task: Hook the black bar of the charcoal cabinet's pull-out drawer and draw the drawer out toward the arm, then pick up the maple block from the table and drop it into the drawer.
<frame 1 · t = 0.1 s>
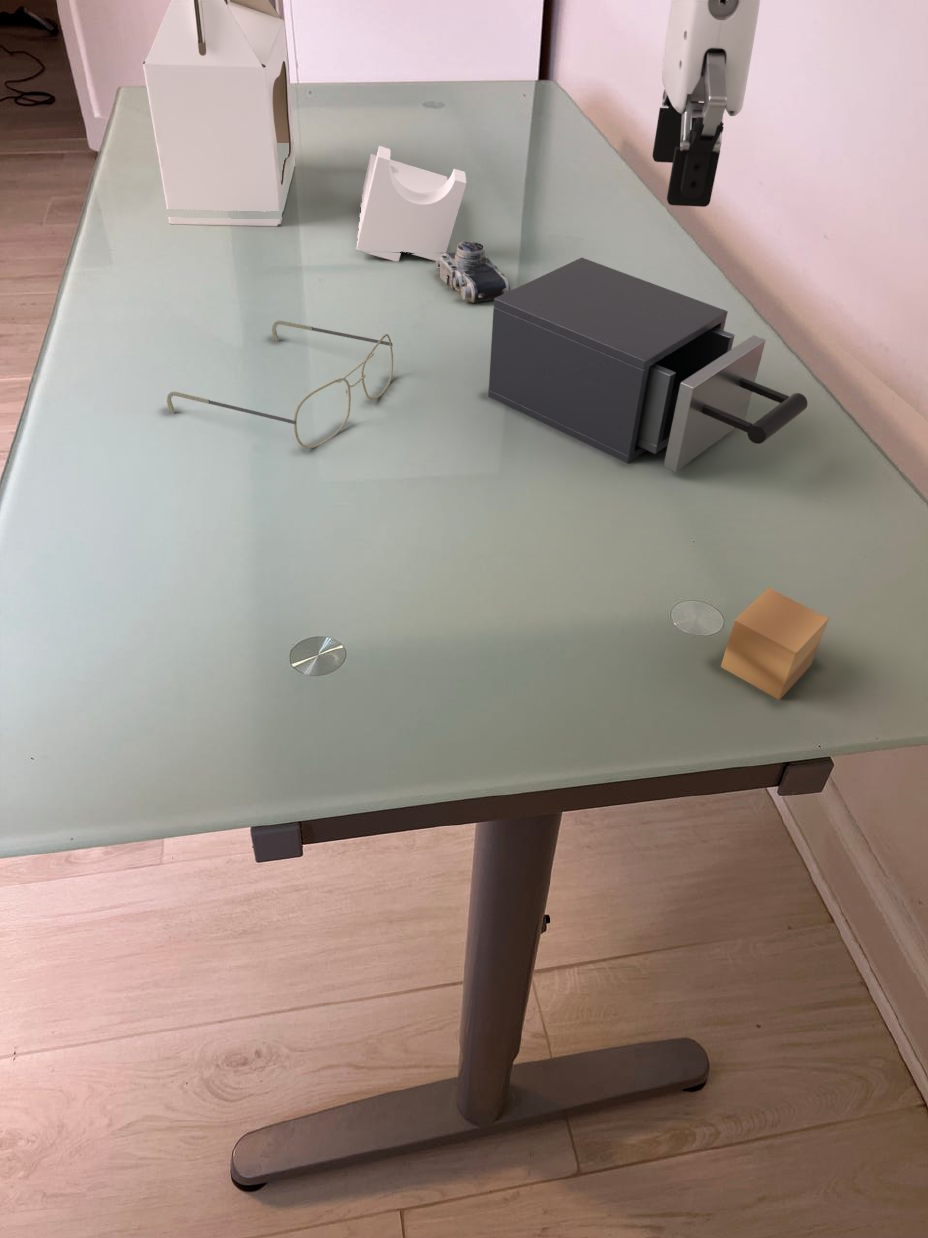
hand: (679, 181, 78), 20 cm above the table, tool pointing down, fingers open, 9 cm apart
pull-out drawer: (676, 386, 84), point 5 cm above the table, slide at 3.0 cm
gable box: (237, 195, 127), on the table
camera: (472, 288, 109), on the table
block: (765, 667, 66), on the table
white notched cradle: (410, 233, 119), on the table
cabinet: (596, 403, 91), on the table
eyeglasses: (291, 396, 90), on the table
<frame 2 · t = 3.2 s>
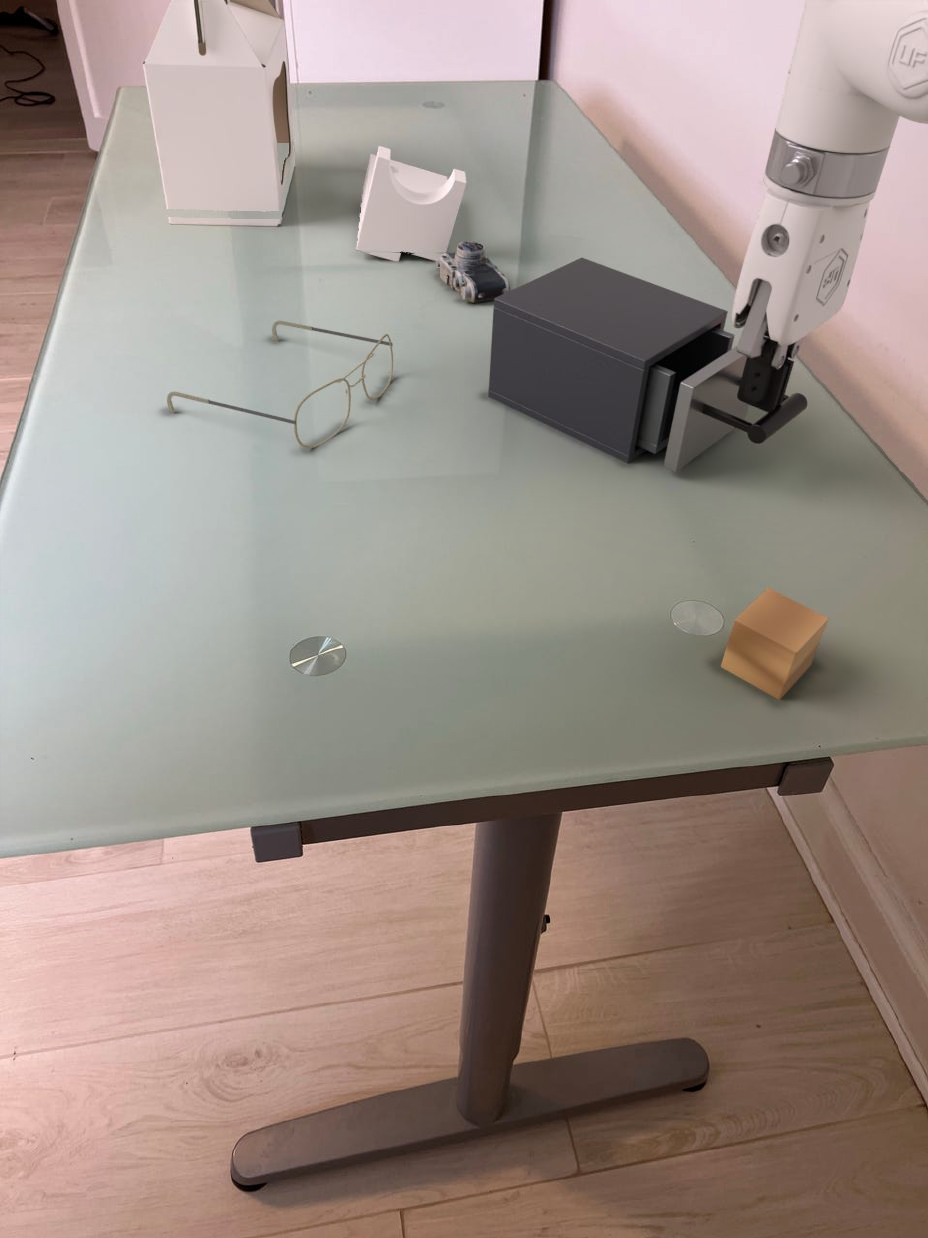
hand: (758, 402, 79), 6 cm above the table, tool pointing down, fingers closed
pull-out drawer: (676, 386, 84), point 5 cm above the table, slide at 3.0 cm, touching gripper
everything else where it was.
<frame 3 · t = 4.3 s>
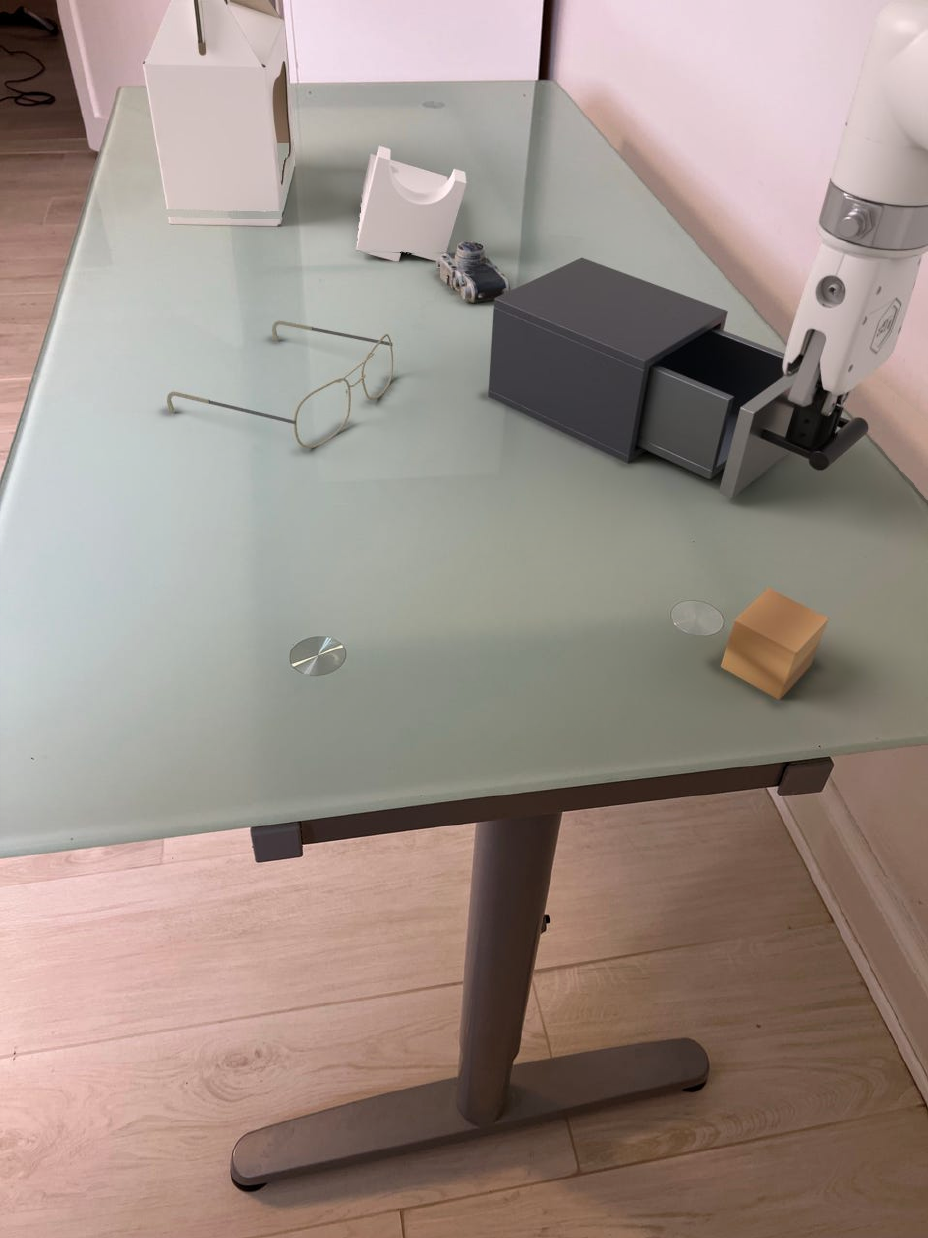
hand: (805, 447, 79), 4 cm above the table, tool pointing down, fingers closed
pull-out drawer: (730, 409, 81), point 5 cm above the table, slide at 8.3 cm, touching gripper
everything else where it was.
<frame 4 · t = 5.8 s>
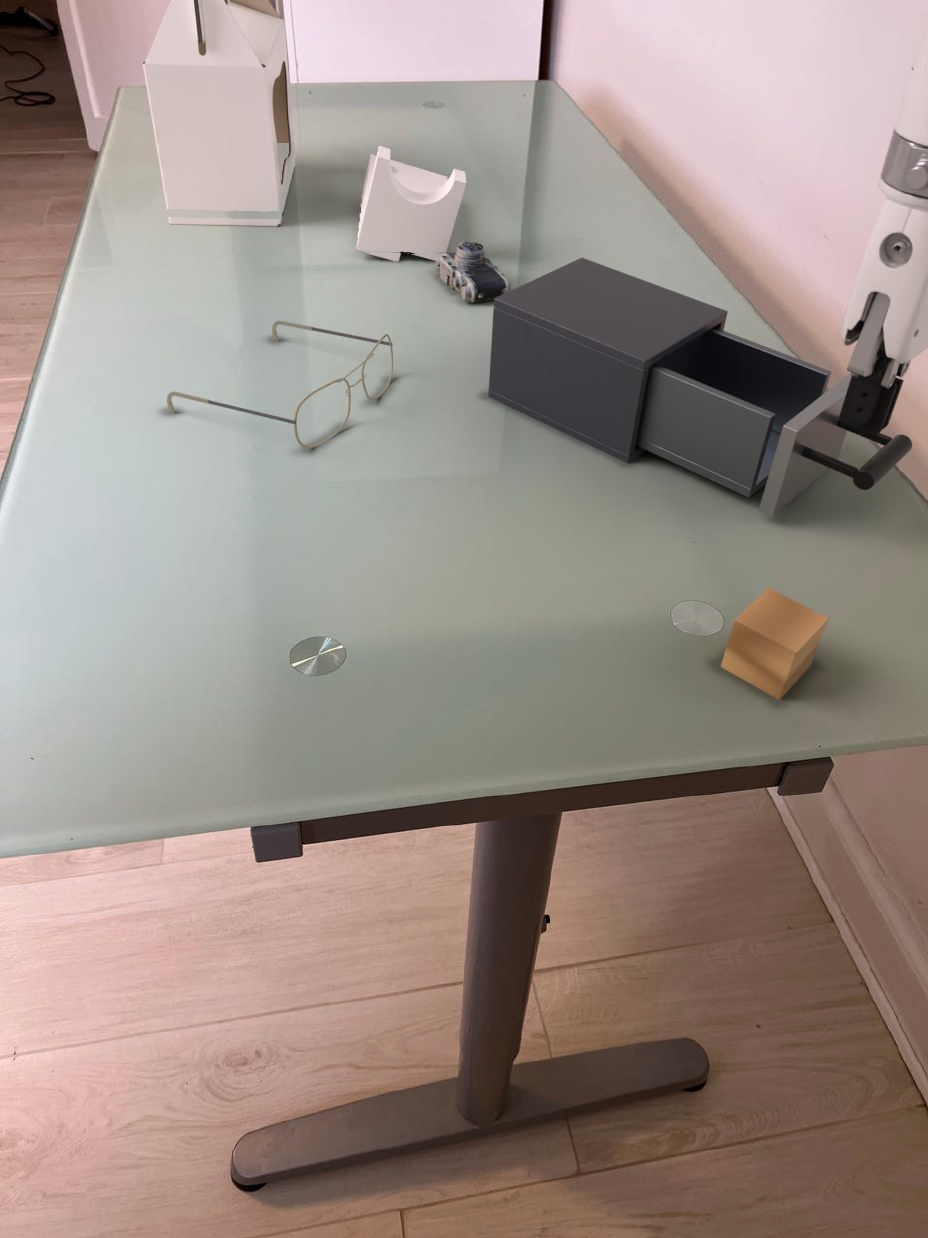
hand: (862, 424, 74), 8 cm above the table, tool pointing down, fingers closed
pull-out drawer: (769, 426, 80), point 5 cm above the table, slide at 11.9 cm
everything else where it was.
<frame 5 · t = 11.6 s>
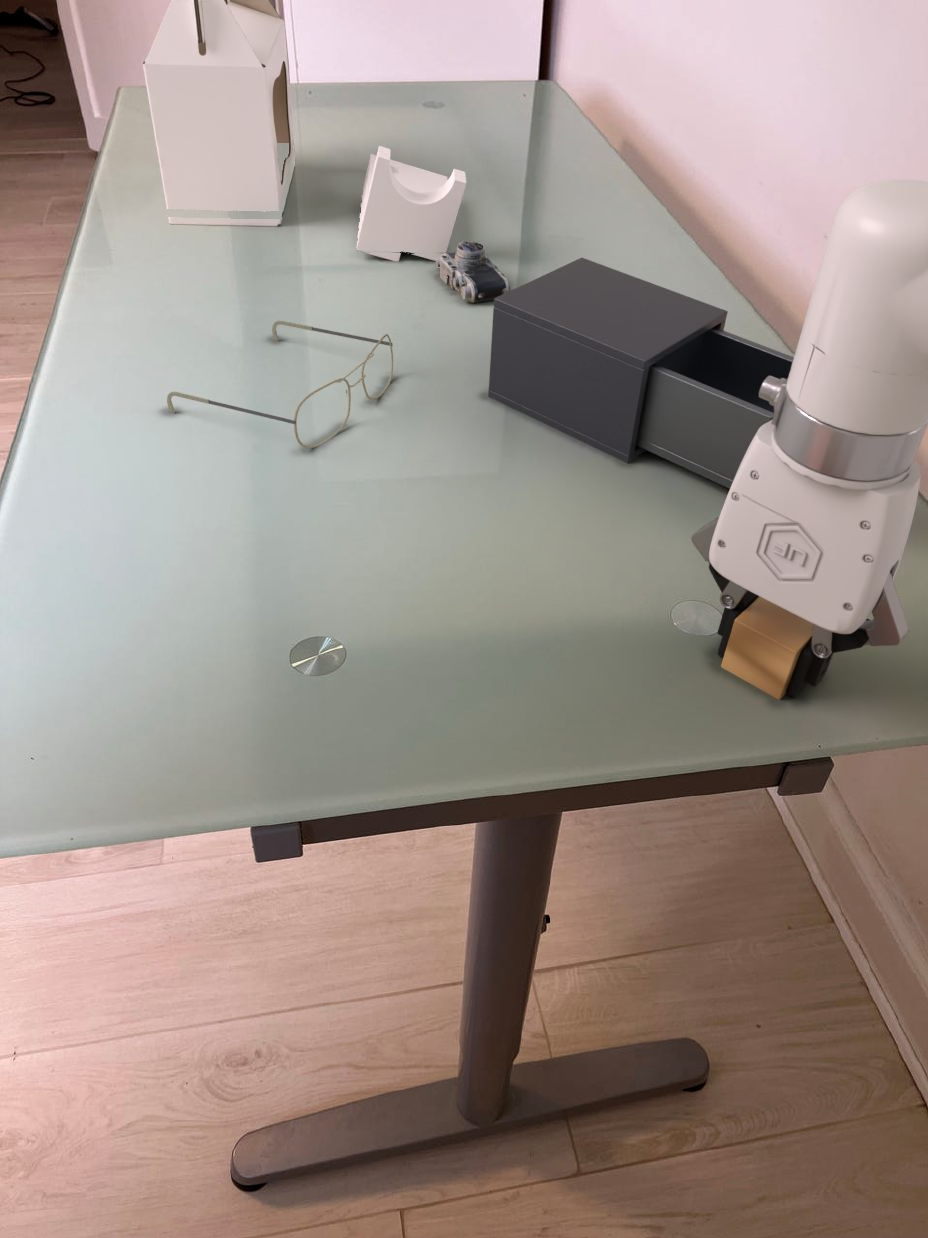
hand: (766, 663, 66), 0 cm above the table, tool pointing down, fingers closed on block, 4 cm apart
block: (765, 667, 66), on the table, touching gripper
everything else where it was.
when the fingers open (6 cm above the table, at t = 19.2 s): block drops 3 cm, resting on pull-out drawer.
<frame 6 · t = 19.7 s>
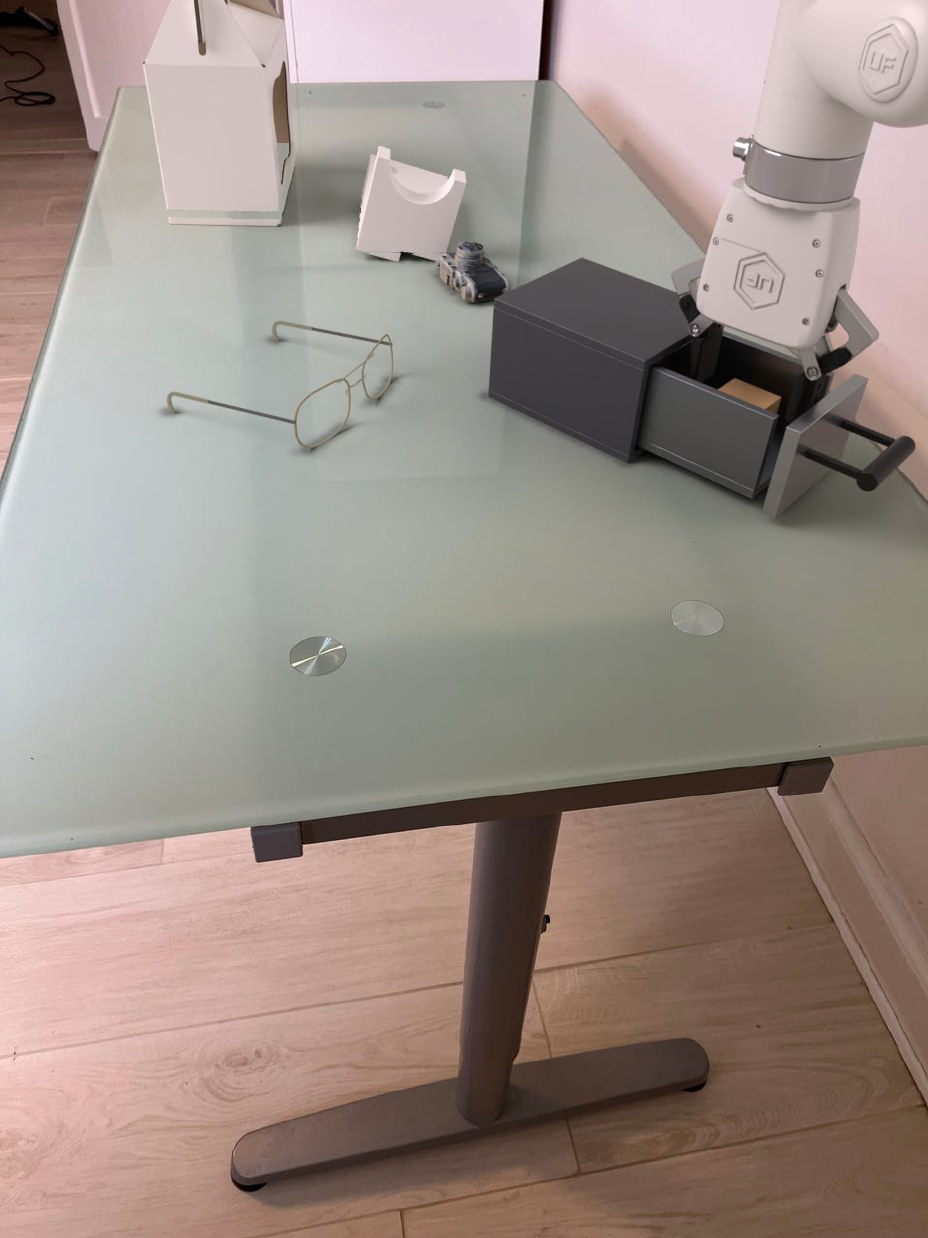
hand: (747, 396, 80), 7 cm above the table, tool pointing down, fingers open, 8 cm apart
pull-out drawer: (772, 427, 80), point 5 cm above the table, slide at 12.1 cm, touching block, gripper
block: (732, 443, 83), point 2 cm above the table, touching pull-out drawer
everything else where it was.
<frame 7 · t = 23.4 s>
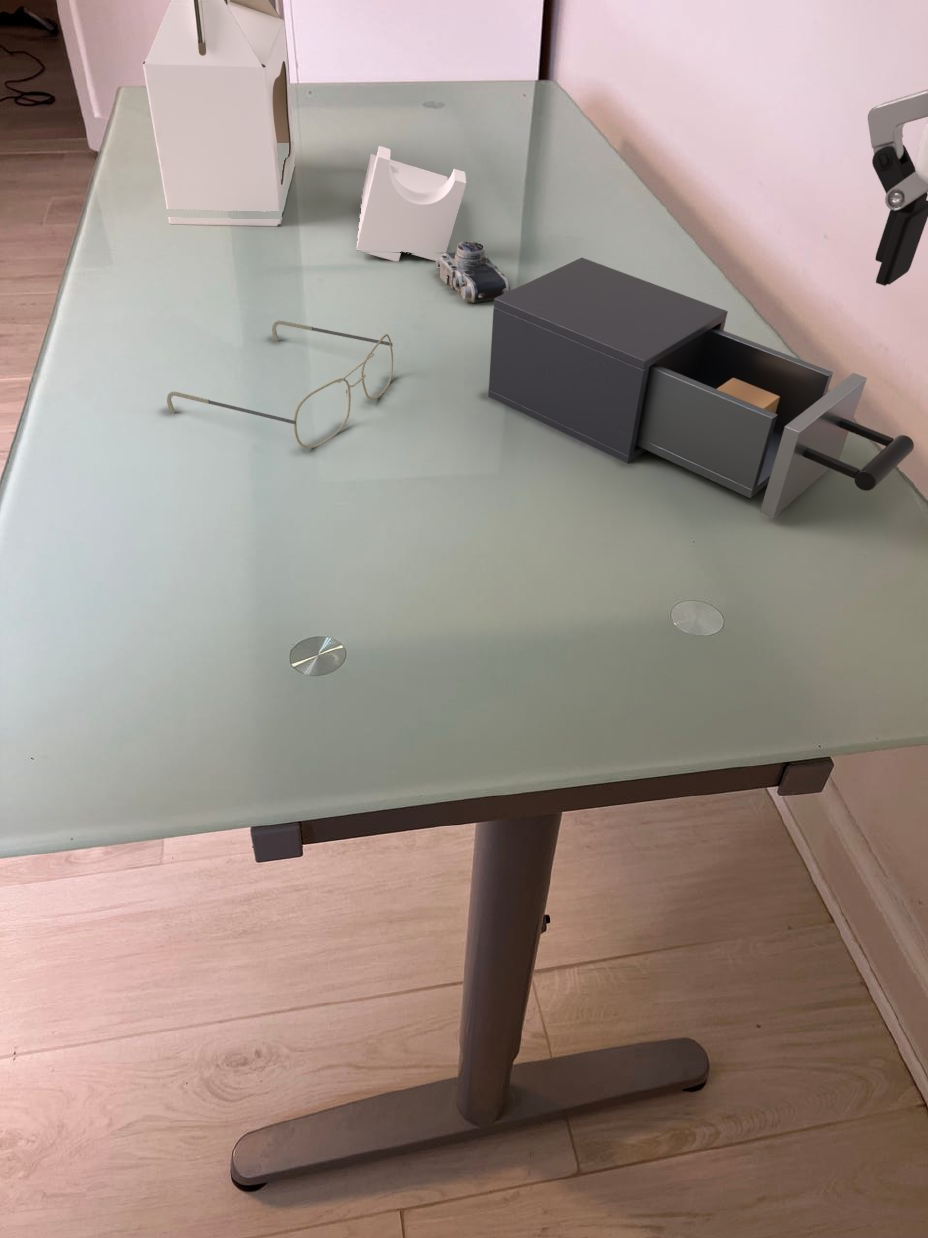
pull-out drawer: (771, 426, 80), point 5 cm above the table, slide at 12.0 cm, touching block
everything else where it was.
at the end: pull-out drawer slide at 12.0 cm; block inside the target area in the pull-out drawer (0.2 cm from its centre), point 2.0 cm above the cabinet's base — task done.
